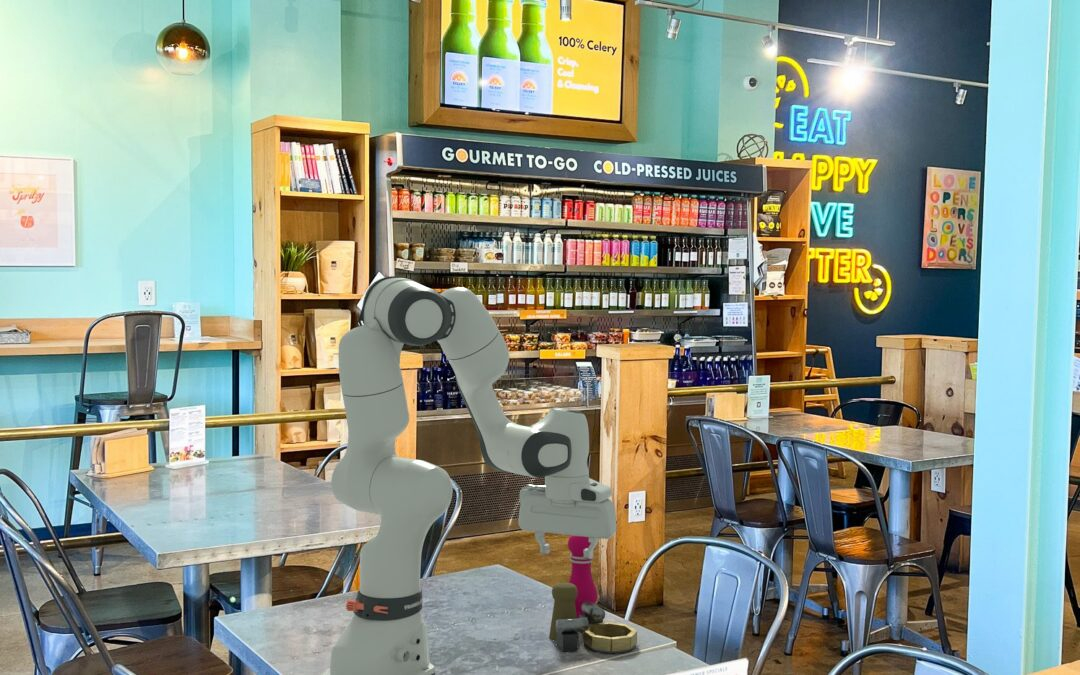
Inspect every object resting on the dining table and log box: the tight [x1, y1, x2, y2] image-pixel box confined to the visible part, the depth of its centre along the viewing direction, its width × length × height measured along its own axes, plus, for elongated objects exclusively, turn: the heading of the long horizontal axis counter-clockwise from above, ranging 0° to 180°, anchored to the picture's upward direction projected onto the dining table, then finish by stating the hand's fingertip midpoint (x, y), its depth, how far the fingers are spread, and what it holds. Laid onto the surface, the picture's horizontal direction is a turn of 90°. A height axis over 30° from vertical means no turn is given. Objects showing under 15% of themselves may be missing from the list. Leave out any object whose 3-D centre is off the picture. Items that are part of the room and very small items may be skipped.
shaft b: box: [579, 601, 606, 634], centre depth 215 cm, size 6×4×6 cm, turn 22°
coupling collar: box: [582, 621, 638, 655], centre depth 208 cm, size 10×10×3 cm
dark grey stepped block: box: [556, 617, 589, 654], centre depth 206 cm, size 6×4×6 cm, turn 107°
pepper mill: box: [567, 535, 598, 618], centre depth 226 cm, size 7×7×20 cm
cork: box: [548, 582, 580, 642], centre depth 212 cm, size 6×6×11 cm
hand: (566, 555), depth 212 cm, fingers open, 8 cm apart
